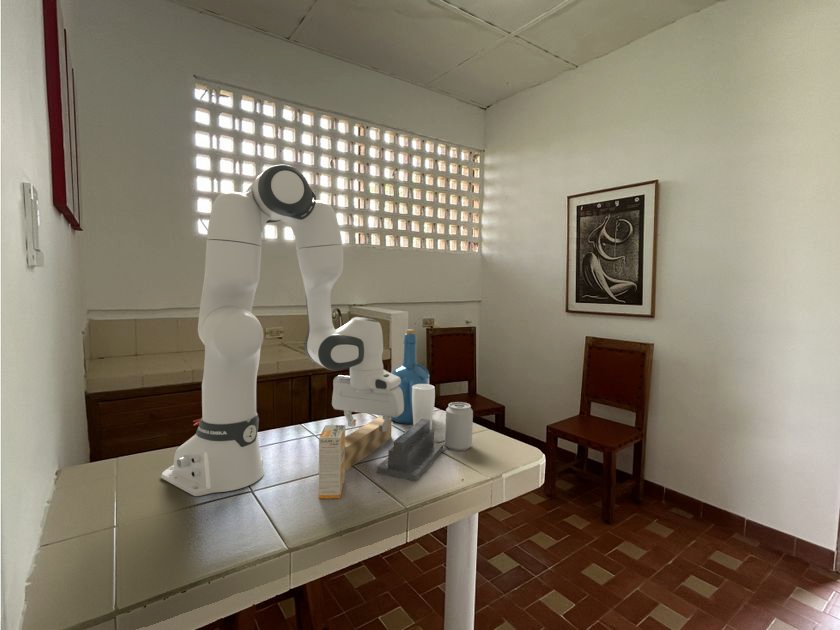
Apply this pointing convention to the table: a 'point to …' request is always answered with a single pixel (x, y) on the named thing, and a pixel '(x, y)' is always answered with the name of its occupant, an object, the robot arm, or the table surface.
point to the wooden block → (365, 441)
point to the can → (458, 426)
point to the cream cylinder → (423, 402)
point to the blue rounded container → (409, 376)
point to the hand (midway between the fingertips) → (367, 428)
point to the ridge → (411, 452)
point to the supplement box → (331, 461)
